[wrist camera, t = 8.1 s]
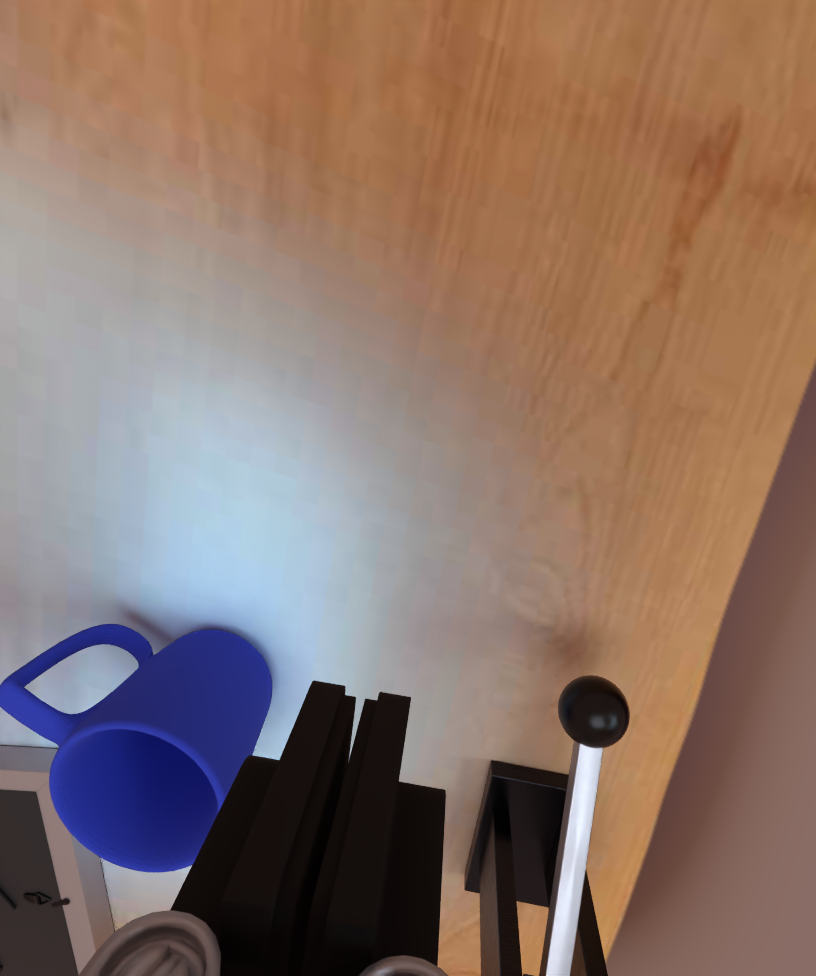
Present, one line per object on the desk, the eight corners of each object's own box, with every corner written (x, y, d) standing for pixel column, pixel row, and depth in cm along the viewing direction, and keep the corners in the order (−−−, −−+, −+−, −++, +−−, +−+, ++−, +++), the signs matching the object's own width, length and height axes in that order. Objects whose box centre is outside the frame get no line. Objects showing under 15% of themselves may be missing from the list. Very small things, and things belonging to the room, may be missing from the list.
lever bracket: (491, 759, 37) (501, 987, 25) (591, 779, 37) (652, 1018, 24) (464, 873, 40) (461, 1129, 27) (557, 892, 39) (597, 1159, 27)
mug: (139, 545, 35) (16, 637, 25) (315, 664, 36) (259, 794, 27) (77, 645, 37) (-57, 763, 28) (244, 753, 38) (170, 902, 29)
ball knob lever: (557, 663, 31) (572, 677, 27) (621, 675, 30) (644, 691, 27) (501, 1026, 29) (510, 1085, 26) (569, 1041, 29) (587, 1102, 26)
